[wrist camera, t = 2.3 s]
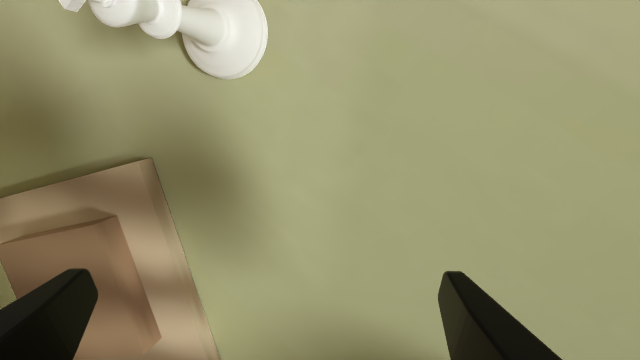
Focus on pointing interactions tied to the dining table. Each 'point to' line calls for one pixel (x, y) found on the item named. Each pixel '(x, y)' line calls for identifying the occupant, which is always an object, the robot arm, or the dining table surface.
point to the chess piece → (195, 28)
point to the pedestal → (111, 262)
